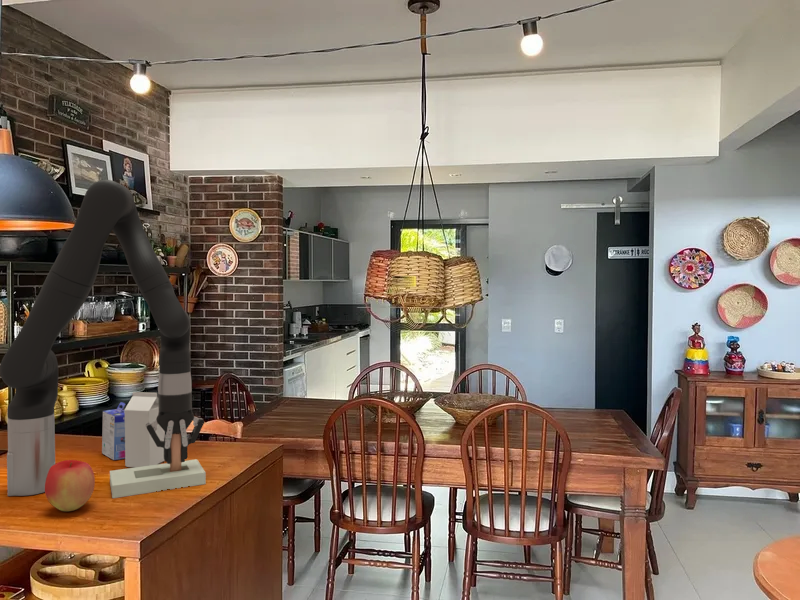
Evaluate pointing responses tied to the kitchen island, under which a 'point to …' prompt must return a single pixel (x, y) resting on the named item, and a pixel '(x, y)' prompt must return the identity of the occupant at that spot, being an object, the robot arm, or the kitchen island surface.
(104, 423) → the ink cartridge box
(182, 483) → the keyhole board
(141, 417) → the milk carton
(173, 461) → the headed peg
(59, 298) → the robot arm
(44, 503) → the kitchen island surface
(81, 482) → the apple
